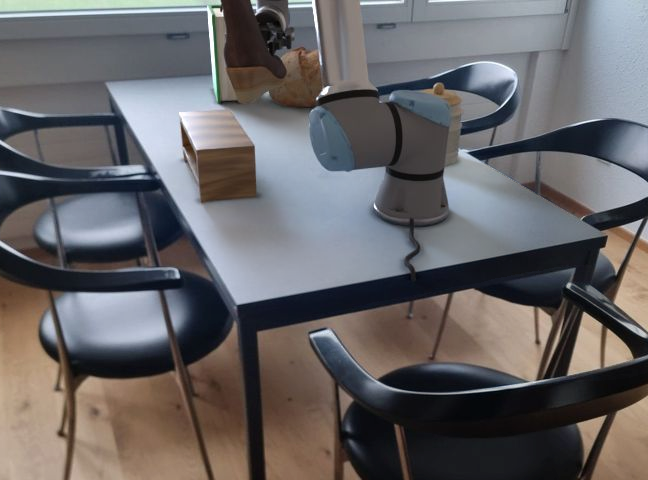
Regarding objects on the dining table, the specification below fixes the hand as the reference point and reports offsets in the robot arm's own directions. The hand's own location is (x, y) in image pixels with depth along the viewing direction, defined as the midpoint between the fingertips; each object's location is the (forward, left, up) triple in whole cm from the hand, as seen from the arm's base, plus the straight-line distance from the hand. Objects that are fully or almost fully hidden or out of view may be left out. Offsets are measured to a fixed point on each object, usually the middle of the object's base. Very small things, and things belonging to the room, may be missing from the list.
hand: (252, 48), depth 137 cm
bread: (+65, -31, -28) cm, 78 cm away
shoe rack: (+7, +8, -28) cm, 30 cm away
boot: (-1, -1, -8) cm, 8 cm away
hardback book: (+77, -7, -28) cm, 83 cm away
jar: (+7, -45, -28) cm, 54 cm away
